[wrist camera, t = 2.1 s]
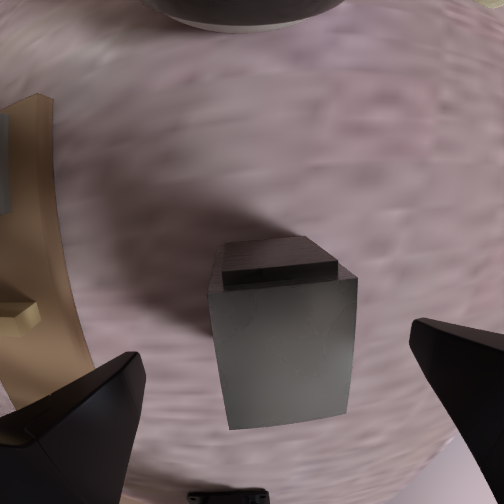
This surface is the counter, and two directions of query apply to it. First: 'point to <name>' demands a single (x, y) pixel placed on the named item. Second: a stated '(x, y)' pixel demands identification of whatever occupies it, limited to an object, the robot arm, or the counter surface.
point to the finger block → (282, 331)
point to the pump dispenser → (241, 13)
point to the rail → (34, 263)
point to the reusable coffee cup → (490, 3)
